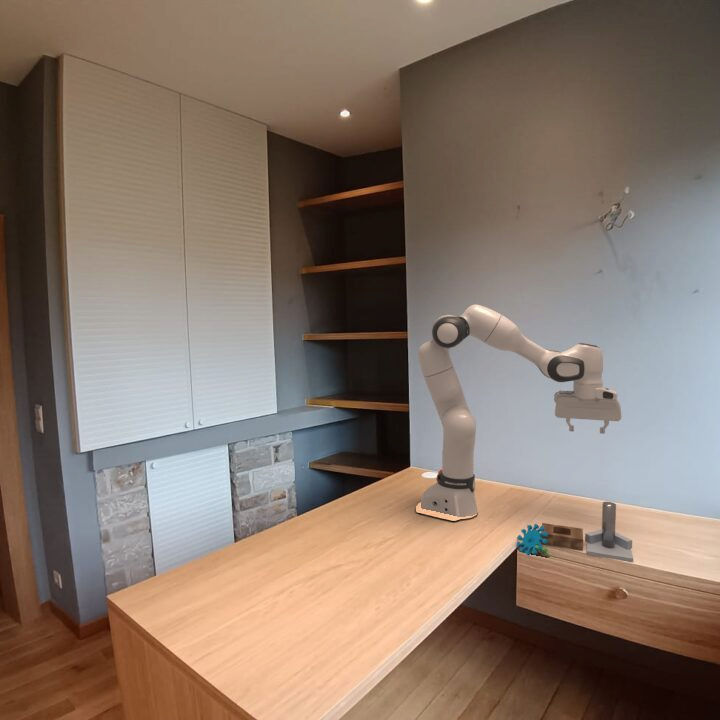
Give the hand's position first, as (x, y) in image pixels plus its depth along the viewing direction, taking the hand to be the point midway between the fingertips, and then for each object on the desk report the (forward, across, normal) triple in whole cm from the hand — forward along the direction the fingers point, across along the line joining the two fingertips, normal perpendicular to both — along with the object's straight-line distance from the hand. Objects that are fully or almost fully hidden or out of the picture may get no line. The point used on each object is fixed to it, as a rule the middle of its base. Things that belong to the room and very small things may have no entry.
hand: (586, 432), depth 162 cm
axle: (+30, +6, -19) cm, 36 cm away
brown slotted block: (+31, -7, -19) cm, 37 cm away
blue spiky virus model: (+32, -15, -29) cm, 45 cm away
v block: (+31, +6, -19) cm, 37 cm away
